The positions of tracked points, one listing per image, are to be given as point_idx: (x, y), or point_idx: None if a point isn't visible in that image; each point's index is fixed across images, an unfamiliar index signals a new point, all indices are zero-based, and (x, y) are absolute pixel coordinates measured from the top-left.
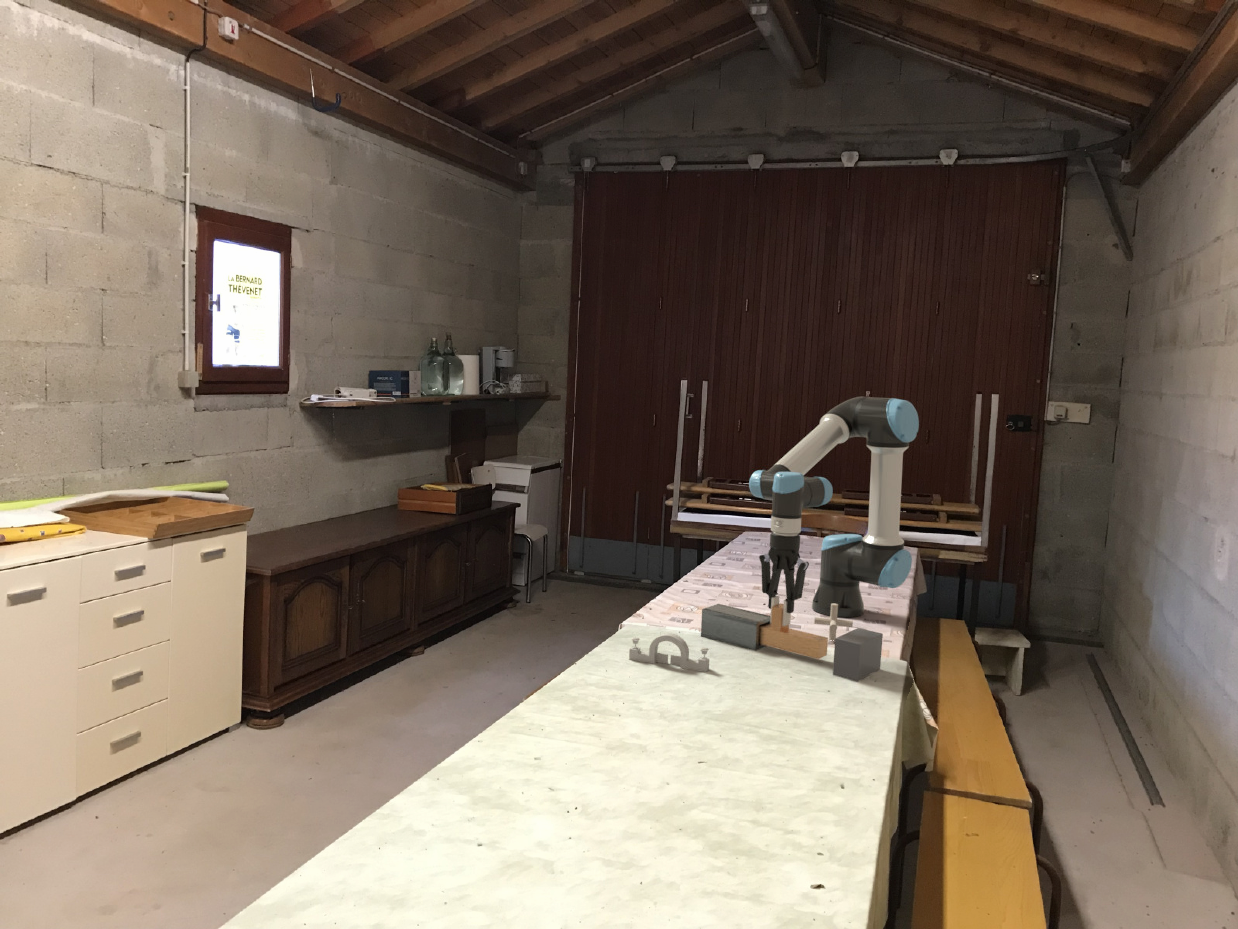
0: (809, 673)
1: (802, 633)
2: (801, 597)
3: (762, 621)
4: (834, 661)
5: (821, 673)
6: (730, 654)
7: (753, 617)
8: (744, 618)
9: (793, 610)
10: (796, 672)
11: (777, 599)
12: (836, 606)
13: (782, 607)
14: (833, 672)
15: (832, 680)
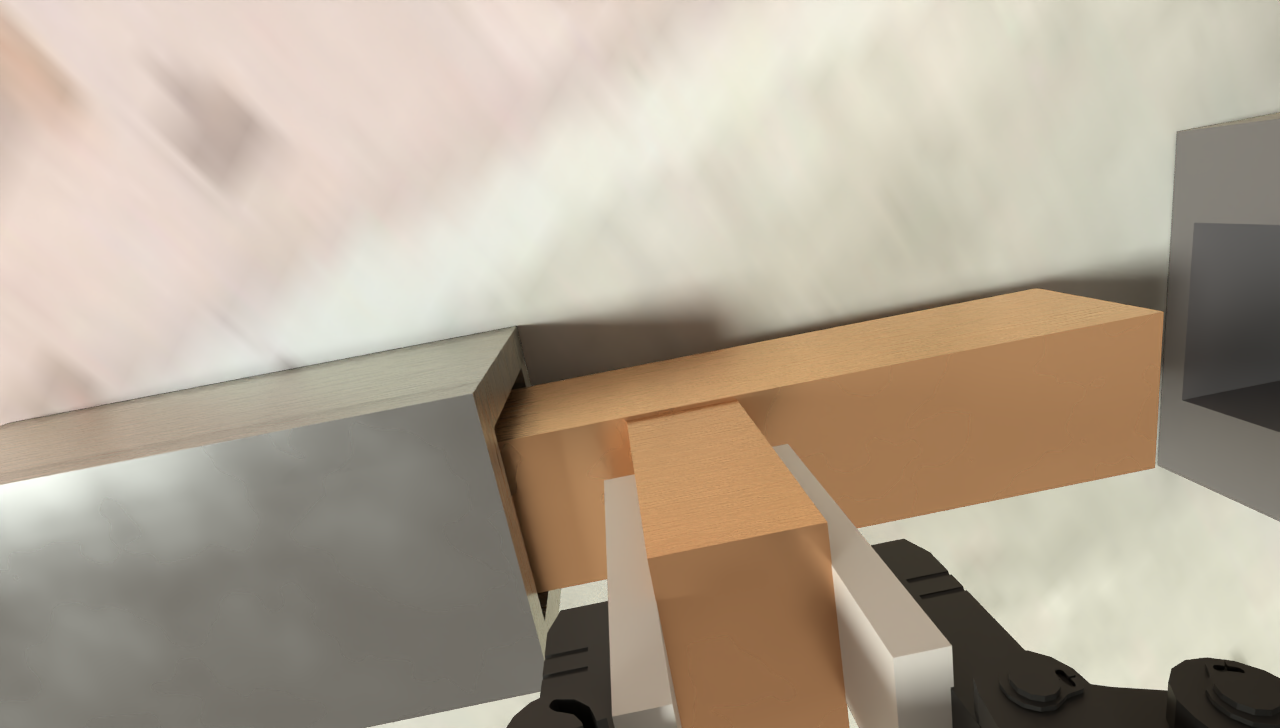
0: (1043, 555)
1: (926, 416)
2: (1260, 671)
3: (527, 587)
4: (1255, 505)
5: (1094, 498)
6: (529, 697)
7: (392, 601)
8: (377, 701)
9: (932, 562)
10: (982, 603)
11: (678, 722)
12: None
13: (820, 691)
14: (1175, 470)
15: (1193, 535)
